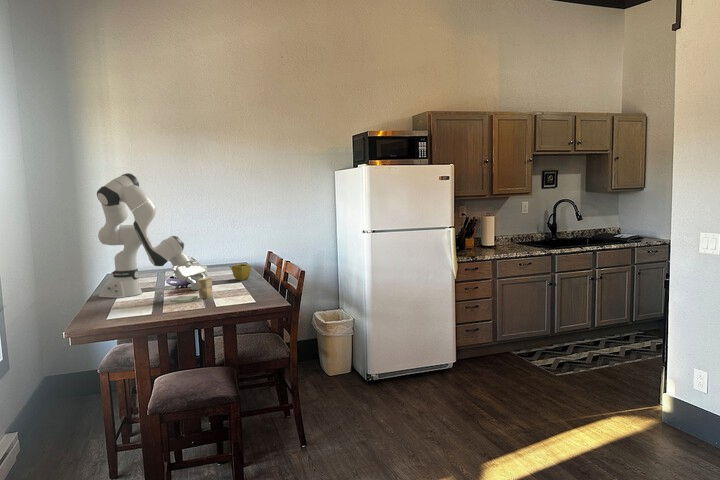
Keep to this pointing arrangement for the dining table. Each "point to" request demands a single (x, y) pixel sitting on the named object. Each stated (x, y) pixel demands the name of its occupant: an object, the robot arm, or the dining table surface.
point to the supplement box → (195, 287)
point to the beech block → (205, 288)
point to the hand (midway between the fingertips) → (199, 282)
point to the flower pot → (241, 271)
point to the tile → (184, 298)
